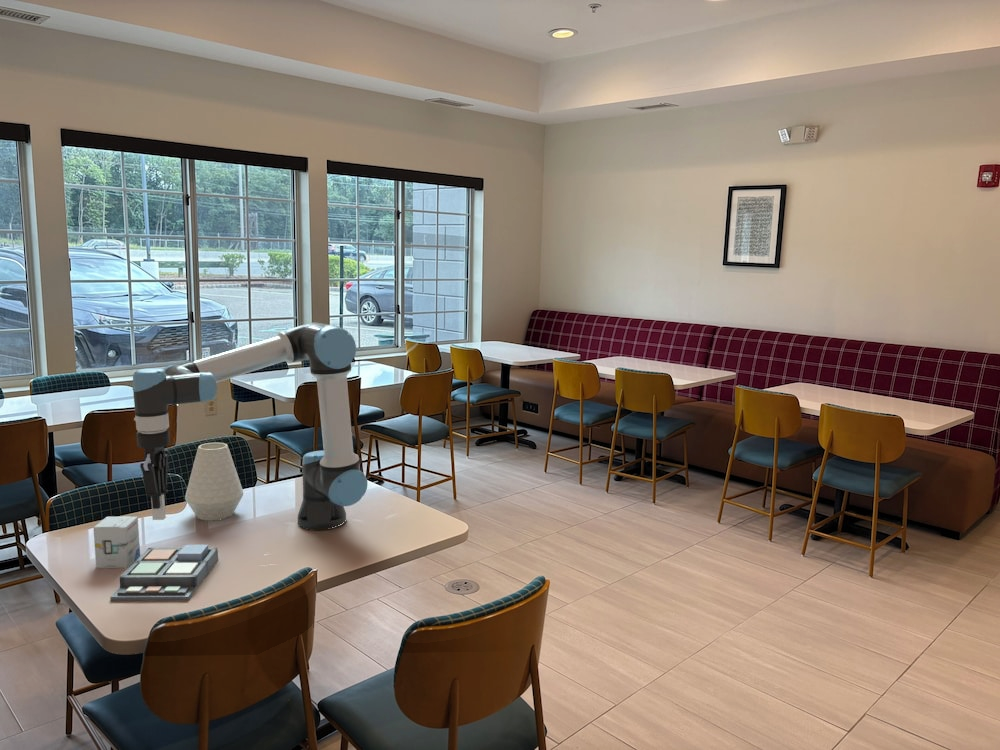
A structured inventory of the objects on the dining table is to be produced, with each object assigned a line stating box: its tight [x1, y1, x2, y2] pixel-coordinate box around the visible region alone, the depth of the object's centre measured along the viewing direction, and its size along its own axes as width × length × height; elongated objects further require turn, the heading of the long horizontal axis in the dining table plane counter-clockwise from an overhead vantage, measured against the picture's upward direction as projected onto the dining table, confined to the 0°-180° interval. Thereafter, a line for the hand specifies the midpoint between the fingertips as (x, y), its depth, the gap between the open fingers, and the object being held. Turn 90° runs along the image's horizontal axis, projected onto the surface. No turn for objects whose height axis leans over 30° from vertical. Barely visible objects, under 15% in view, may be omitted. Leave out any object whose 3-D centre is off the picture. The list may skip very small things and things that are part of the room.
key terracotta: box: [144, 550, 176, 561], centre depth 195 cm, size 6×6×2 cm
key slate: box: [178, 544, 209, 561], centre depth 195 cm, size 6×6×2 cm
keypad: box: [109, 547, 219, 602], centre depth 189 cm, size 18×24×4 cm
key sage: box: [131, 563, 164, 575], centre depth 186 cm, size 6×6×2 cm
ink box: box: [93, 515, 141, 569], centre depth 197 cm, size 9×8×12 cm
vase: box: [184, 442, 244, 522], centre depth 233 cm, size 18×17×23 cm
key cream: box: [166, 563, 198, 575], centre depth 187 cm, size 6×6×2 cm
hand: (159, 518), depth 187 cm, fingers closed
